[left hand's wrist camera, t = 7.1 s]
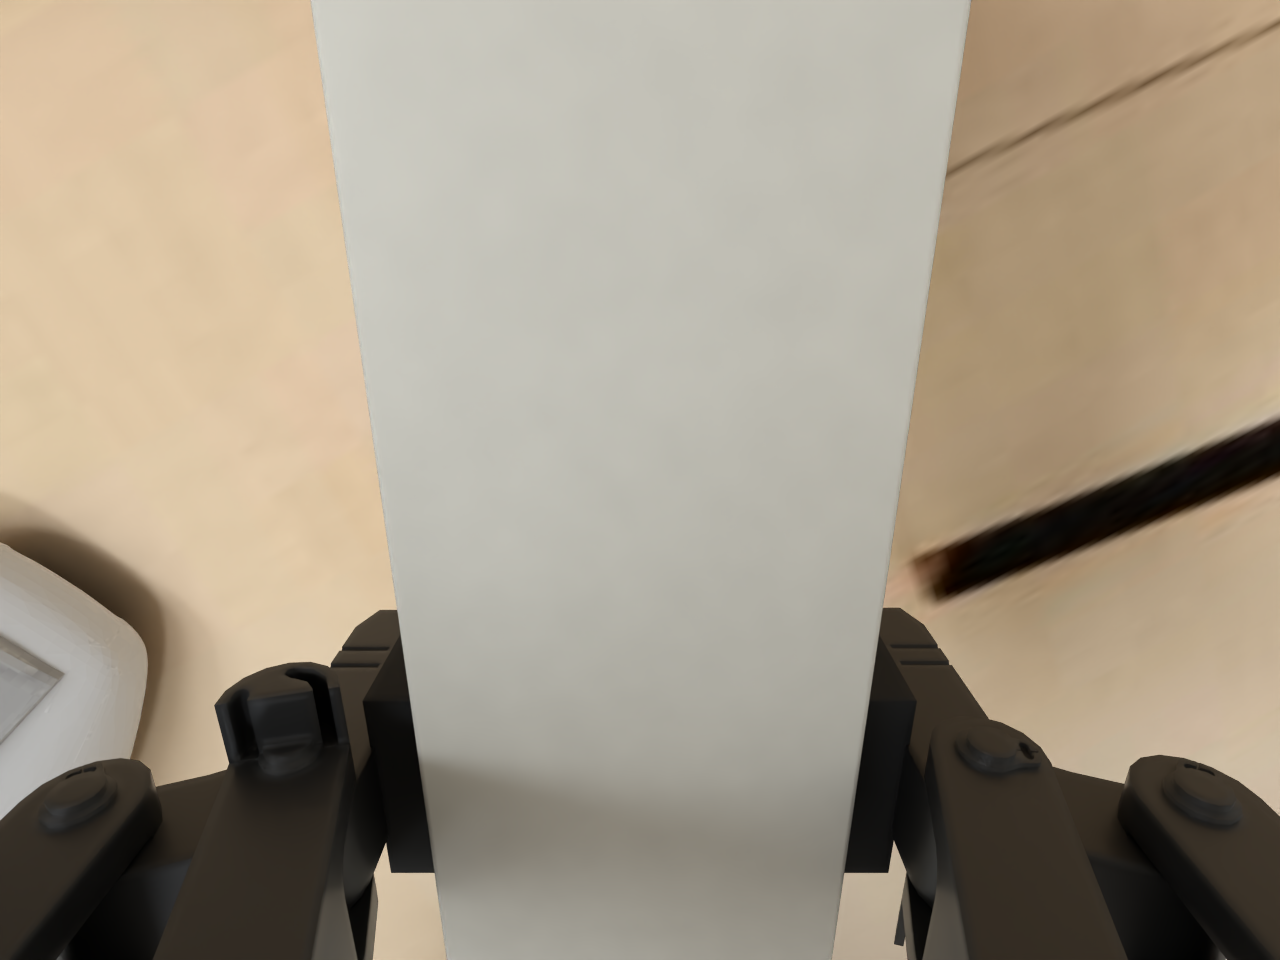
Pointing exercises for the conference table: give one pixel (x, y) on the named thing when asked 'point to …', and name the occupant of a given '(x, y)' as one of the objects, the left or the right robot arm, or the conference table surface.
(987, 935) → the left robot arm
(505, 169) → the plank
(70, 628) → the projector
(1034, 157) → the conference table surface
